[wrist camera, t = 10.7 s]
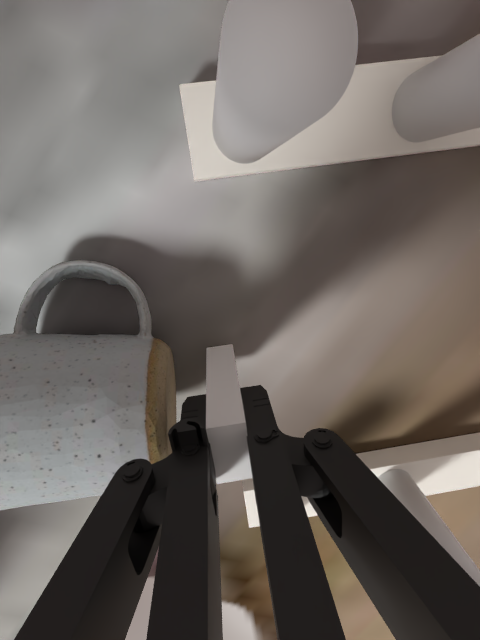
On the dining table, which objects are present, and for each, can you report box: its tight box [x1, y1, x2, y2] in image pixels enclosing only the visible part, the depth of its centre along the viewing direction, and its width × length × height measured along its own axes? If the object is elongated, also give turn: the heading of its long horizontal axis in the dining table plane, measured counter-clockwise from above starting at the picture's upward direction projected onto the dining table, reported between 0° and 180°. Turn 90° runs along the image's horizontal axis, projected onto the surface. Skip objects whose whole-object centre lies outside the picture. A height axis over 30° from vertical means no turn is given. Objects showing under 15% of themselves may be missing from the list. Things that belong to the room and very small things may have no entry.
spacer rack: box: [179, 0, 480, 586], centre depth 15 cm, size 21×27×10 cm
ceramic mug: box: [0, 260, 176, 510], centre depth 15 cm, size 11×8×8 cm
